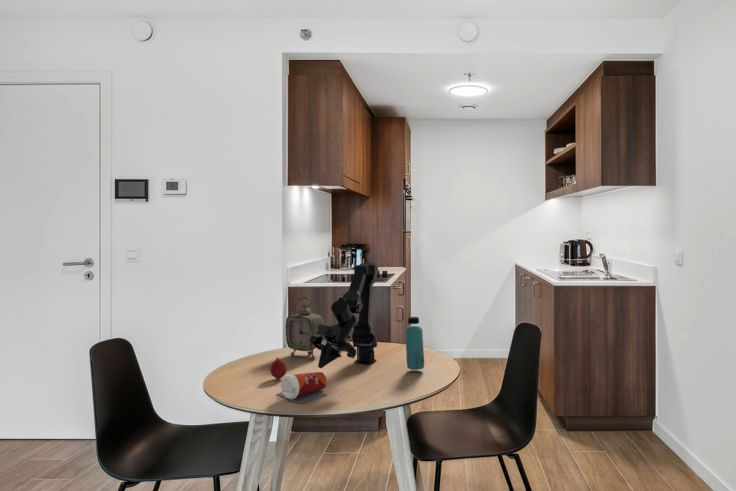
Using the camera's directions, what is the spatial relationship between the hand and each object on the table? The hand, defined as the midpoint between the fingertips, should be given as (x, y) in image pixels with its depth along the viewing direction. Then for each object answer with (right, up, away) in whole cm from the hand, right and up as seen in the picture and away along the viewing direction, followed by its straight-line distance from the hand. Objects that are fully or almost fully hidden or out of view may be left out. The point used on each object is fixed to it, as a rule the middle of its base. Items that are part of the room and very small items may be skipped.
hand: (319, 367), depth 155 cm
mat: (-5, -8, -5) cm, 10 cm away
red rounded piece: (-16, -7, +11) cm, 21 cm away
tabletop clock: (-10, -6, +40) cm, 42 cm away
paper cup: (+1, -4, 0) cm, 4 cm away
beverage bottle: (+34, -6, +17) cm, 38 cm away
